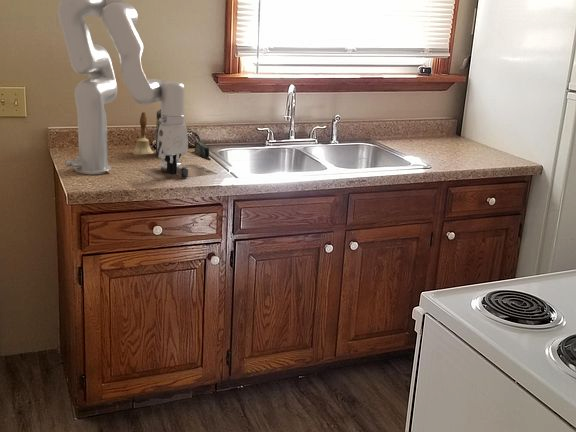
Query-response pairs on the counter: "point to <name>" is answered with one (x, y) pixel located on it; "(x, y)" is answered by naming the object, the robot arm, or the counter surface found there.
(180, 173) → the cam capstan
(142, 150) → the hand bell
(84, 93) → the robot arm
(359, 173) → the counter surface
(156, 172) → the level board
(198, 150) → the dark green box
